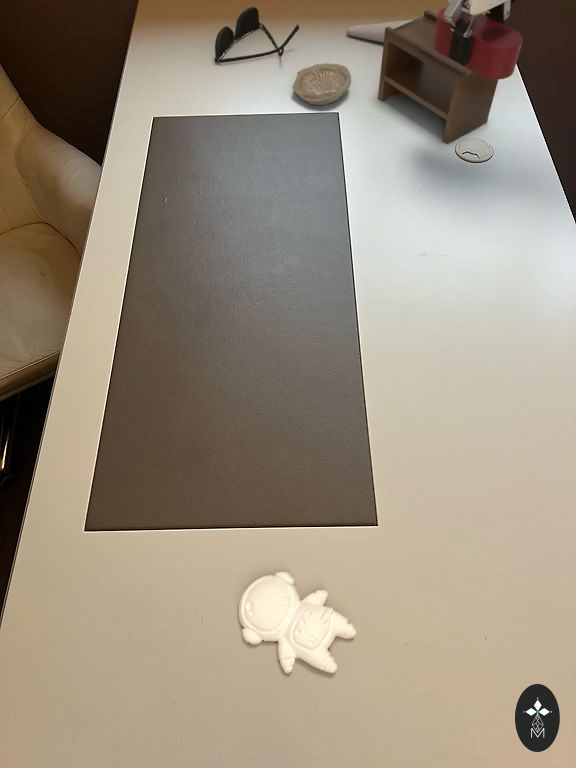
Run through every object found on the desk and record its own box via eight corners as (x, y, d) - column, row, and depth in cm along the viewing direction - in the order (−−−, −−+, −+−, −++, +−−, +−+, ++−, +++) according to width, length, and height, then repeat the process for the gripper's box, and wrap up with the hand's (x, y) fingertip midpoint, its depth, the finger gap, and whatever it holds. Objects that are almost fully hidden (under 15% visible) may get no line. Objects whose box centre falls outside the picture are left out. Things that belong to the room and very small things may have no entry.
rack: (416, 79, 120) (427, 9, 109) (486, 123, 112) (506, 51, 101) (377, 98, 117) (385, 27, 106) (447, 144, 108) (462, 72, 98)
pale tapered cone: (338, 31, 122) (475, 27, 116) (346, 8, 126) (479, 4, 120) (341, 69, 128) (471, 68, 122) (348, 47, 133) (474, 44, 126)
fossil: (289, 110, 116) (287, 96, 114) (303, 74, 122) (301, 60, 120) (344, 113, 114) (343, 99, 112) (355, 76, 120) (355, 62, 117)
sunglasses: (271, 81, 120) (270, 55, 116) (209, 62, 125) (206, 37, 121) (313, 41, 128) (313, 16, 124) (253, 25, 133) (252, -1, 129)
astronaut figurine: (318, 699, 60) (318, 694, 58) (222, 623, 64) (219, 615, 62) (366, 622, 64) (369, 615, 62) (273, 555, 68) (272, 546, 66)
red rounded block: (424, 45, 92) (429, 13, 89) (450, 32, 94) (456, 1, 91) (495, 84, 86) (504, 52, 83) (522, 70, 88) (531, 38, 85)
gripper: (529, -124, 80) (492, 24, 95) (434, -87, 74) (412, 63, 89) (578, -107, 76) (532, 43, 91) (483, -67, 70) (451, 86, 85)
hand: (473, 52), depth 90 cm, fingers closed on red rounded block, 5 cm apart
